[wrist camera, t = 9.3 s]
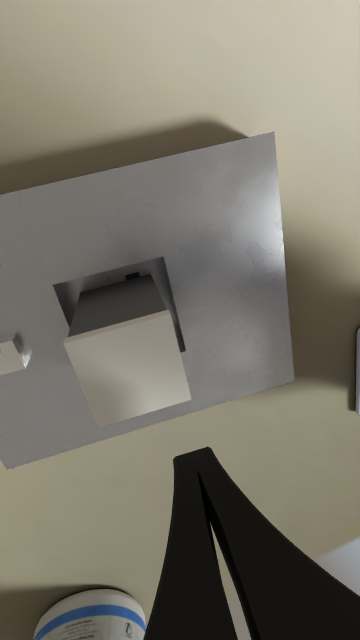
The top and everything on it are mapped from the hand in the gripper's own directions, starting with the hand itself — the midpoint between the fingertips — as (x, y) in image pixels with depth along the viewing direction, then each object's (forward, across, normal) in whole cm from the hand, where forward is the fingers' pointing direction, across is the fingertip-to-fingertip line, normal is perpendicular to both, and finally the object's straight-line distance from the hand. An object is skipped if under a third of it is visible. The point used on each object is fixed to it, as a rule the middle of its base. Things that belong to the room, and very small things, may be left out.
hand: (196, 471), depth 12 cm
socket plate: (+10, +2, -4) cm, 11 cm away
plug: (+9, +2, -3) cm, 10 cm away
